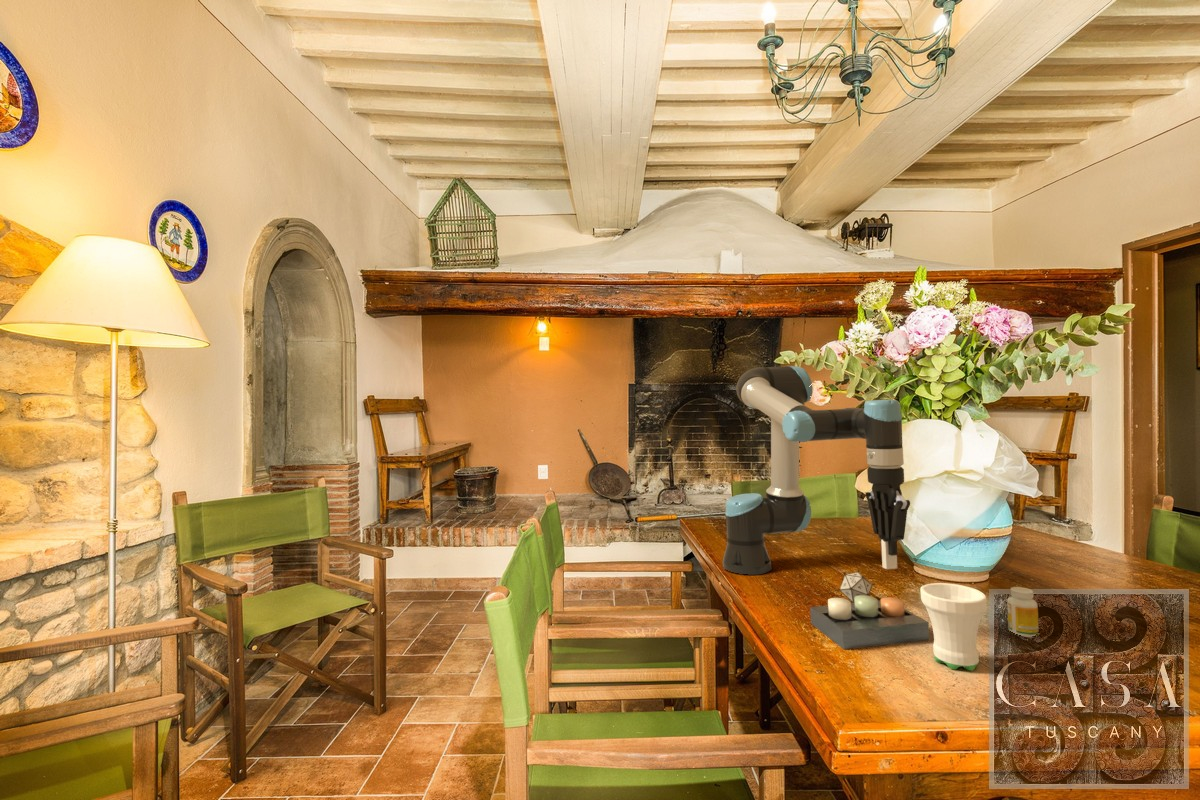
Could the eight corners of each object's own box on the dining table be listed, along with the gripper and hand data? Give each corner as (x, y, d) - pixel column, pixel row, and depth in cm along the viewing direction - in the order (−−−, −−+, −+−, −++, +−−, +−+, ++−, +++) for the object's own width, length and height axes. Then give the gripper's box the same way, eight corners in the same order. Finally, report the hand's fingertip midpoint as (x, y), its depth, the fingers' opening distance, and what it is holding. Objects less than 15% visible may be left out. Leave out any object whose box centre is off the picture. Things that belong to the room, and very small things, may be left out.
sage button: (850, 610, 127) (850, 596, 127) (869, 608, 128) (869, 594, 128) (863, 617, 122) (862, 603, 122) (882, 615, 123) (882, 601, 123)
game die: (865, 618, 141) (882, 595, 135) (832, 606, 143) (847, 582, 137) (863, 591, 148) (879, 568, 143) (831, 579, 150) (846, 556, 144)
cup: (959, 681, 102) (955, 605, 102) (910, 655, 113) (907, 587, 113) (1004, 670, 105) (1000, 597, 105) (952, 646, 116) (949, 579, 116)
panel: (811, 623, 131) (810, 607, 131) (888, 616, 133) (887, 599, 133) (843, 649, 117) (842, 630, 117) (929, 640, 119) (928, 622, 119)
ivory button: (824, 612, 126) (823, 598, 126) (843, 610, 127) (843, 596, 127) (835, 620, 121) (835, 606, 121) (855, 618, 122) (855, 604, 122)
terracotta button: (876, 611, 128) (876, 598, 128) (895, 610, 128) (895, 596, 128) (890, 619, 123) (889, 605, 123) (909, 617, 124) (908, 603, 124)
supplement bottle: (1002, 629, 123) (1000, 587, 123) (1020, 626, 124) (1018, 584, 124) (1026, 639, 117) (1024, 595, 117) (1045, 636, 119) (1043, 592, 119)
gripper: (853, 464, 132) (858, 561, 132) (888, 470, 119) (893, 578, 119) (882, 462, 133) (886, 558, 133) (919, 468, 120) (924, 575, 120)
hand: (889, 567), depth 126 cm, fingers closed
